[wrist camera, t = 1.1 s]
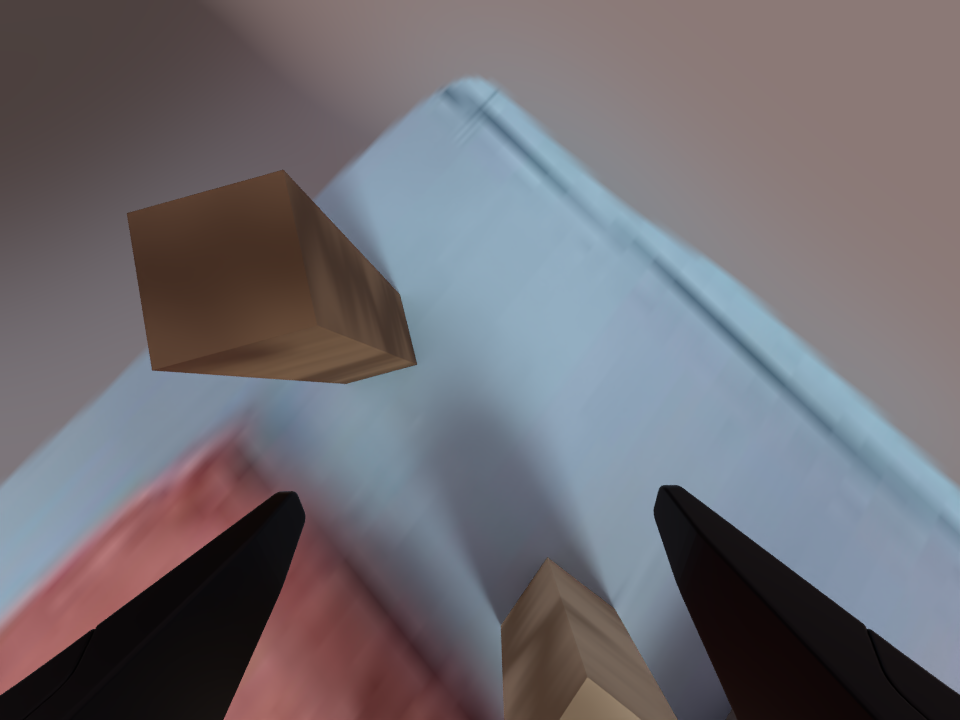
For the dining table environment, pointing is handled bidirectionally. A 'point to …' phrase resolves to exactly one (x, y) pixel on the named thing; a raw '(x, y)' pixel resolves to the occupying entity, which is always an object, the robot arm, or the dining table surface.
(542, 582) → the birch block
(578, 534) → the dining table surface
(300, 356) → the walnut pillar
